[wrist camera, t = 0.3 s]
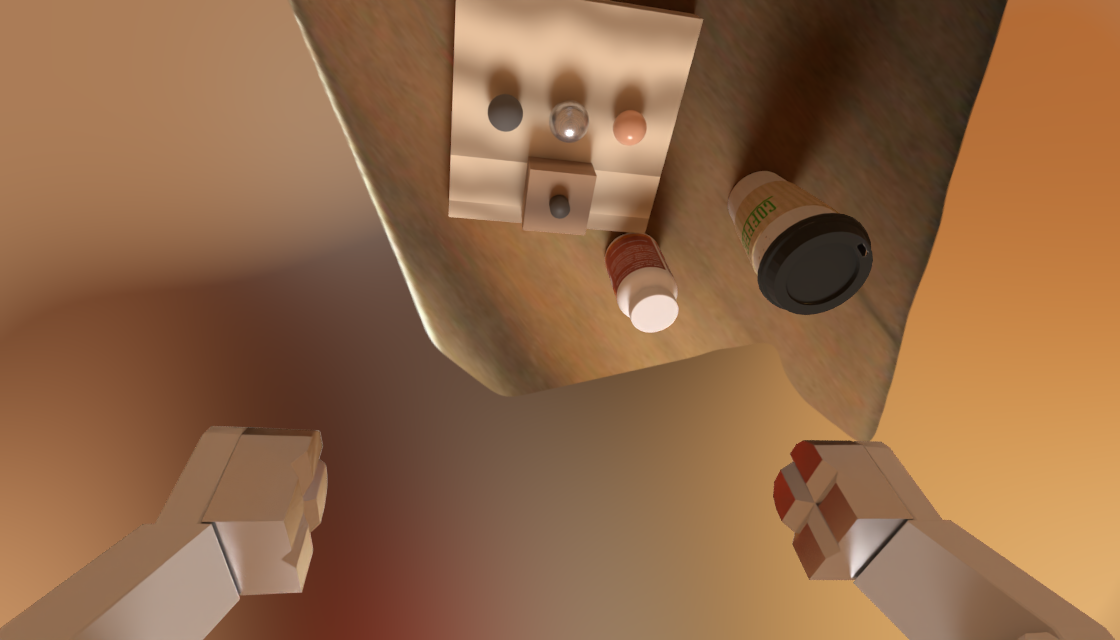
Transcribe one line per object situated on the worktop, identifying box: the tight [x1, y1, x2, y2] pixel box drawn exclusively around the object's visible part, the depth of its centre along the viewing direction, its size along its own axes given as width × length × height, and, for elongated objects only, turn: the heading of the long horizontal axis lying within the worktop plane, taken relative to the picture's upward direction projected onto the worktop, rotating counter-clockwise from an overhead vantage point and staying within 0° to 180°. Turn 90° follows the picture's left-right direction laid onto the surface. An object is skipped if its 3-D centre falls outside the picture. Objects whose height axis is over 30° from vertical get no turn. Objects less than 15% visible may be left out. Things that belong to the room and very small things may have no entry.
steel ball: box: [549, 100, 589, 143], centre depth 48 cm, size 4×4×4 cm
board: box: [449, 0, 703, 234], centre depth 51 cm, size 20×20×2 cm
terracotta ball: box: [613, 110, 647, 146], centre depth 49 cm, size 3×3×3 cm
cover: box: [521, 156, 597, 235], centre depth 52 cm, size 6×6×4 cm
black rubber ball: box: [488, 94, 523, 132], centre depth 47 cm, size 3×3×3 cm
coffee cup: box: [728, 171, 873, 315], centre depth 53 cm, size 10×10×15 cm
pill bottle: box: [605, 233, 678, 332], centre depth 58 cm, size 6×6×11 cm
